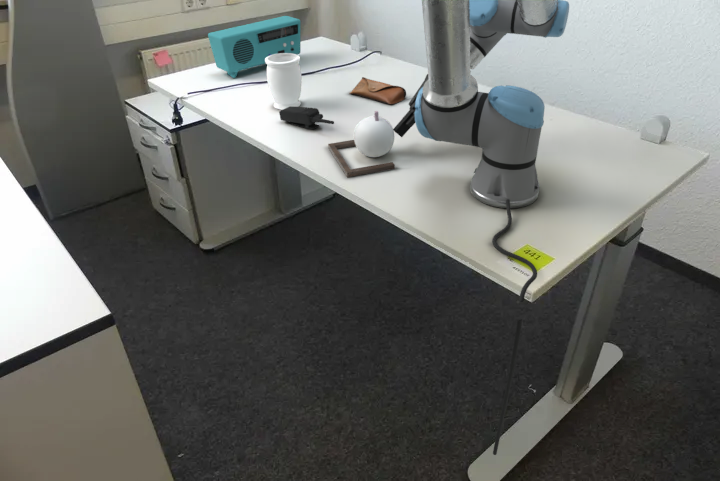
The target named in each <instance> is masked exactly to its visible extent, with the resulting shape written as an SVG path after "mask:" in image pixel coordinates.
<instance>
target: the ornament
mask: <svg viewBox="0 0 720 481" xmlns="http://www.w3.org/2000/svg"><path fill="white" fill-rule="evenodd" d="M393 129H394V127H393V125H392V124H391V123H390V121H388V119H386V118H385V117H383V116H379V110H374V115H369V116H367V117H364V118H363V119H360V121H358V123H357V124H356V126H355V127H354V131H353V140H354V142H355V145H356V146H355V147H356V149H357V151H358V152H360V153H361V154H362V155H364V156H366V157H369V158H379V157H382V156H384V155H386V154H387V153H388V152H389V151H391V149H392V147H393V146H394V142H395V131H394V130H393Z"/></svg>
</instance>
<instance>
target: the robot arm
mask: <svg viewBox="0 0 720 481" xmlns="http://www.w3.org/2000/svg"><path fill="white" fill-rule="evenodd" d="M421 6H422V20H423V30H424V41H425V42H424V43H425V53H426V65H427V66H426V67H427V74H426V75H425V78H424V80H423V81H422V83H421V85H420V87H418V89H416V90H417V91H416V92H415V93H414V95H413V96H412V97H411V99H410V101H409V102H408V106H409V109H408V111H407V112H406V114H404V116H403V117H402V118H401V120H399V122H398V123H397V124H396V125H395V126H394V127H393V130H394V133H396V134H397V135H398V136H399V137H400V138H403V137H404V136H405V135H406V134H407V132H408V131H409V130H410V129H411V128H412V127H413V126H414V125H415V126H416V129H417V131H418V133H419V134H420V135H421V136H422V137H423V138H426V139H429V140H433V141H435V142H444V143H451V144H458V145H462V146H470V147H476V148H481V149H482V152H481V153H482V154H481V159H480V161H479V163H478V165H477V167H476V168H475V169H474V171H473V176H472V178H471V180H470V186H469V190H470V194H471V196H473V198H475V199H476V200H477V201H478V202H481V203H482V204H485V205H487V206H491V207H493V208H494V207H495V208H499V209H500V208H501V209H506V214H507V224H506V225H505V227H504V228H502V229H501V230H499V231H498V232H497V233H495V234H494V235H493V237H492V242H491V243H492V245H493V247H494V248H495V249H496V251H498V252H500V253H501V254H503V255H505V256H508V257H509V258H512V259H515V260H516V261H519V262H521V263H523V264H525V265H526V266H528V267H529V268H530V270H531V272H532V275H531V276H530V278H529V279H527V281H526V282H525V283H524V284H523V286H522V288H521V290H520V293H519V298H518V301H519V302H520V303H523V302H524V301H525V296H526V293H527V290H528V289H529V287H530V286H531V284H533V283H534V281H535V280H536V279H537V277H538V271H537V270H538V269H537V267H536V266H535V265H534V264H533V263H532V262H531V261H530V260H528V259H527V258H525V257H523V256H520V255H518V254H515V253H513V252H511V251H509V250H506V249H504V248H503V247H501V246H500V245H499V244H498V242H497V239H498V238H500V237H501V236H502V235H504V234H505V233H506V232H507V231H508V230H510V228H511V226H512V223H513V217H512V211H511V210H512V209H519V208H524V207H527V206H530V205H531V204H533V203H534V202H536V200H537V199H538V197H539V192H540V182H539V177H538V172H537V165H536V161H537V157H538V152H539V145H540V139H541V134H542V133H541V132H542V127H543V126H544V122H545V120H544V119H545V118H544V116H545V108H546V107H545V102H544V101H543V99H542V98H541V96H539V95H538V94H536V93H535V92H533V91H532V90H530V89H527V88H524V87H521V86H516V85H497V86H494V87H492V88H491V89H490V90H489V91H488V92H483V91H479V85H478V81H477V79H476V78H475V77H474V76H473V75H472V74H471V72H472V71H471V70H475V69H476V68H477V67H478V65H479V64H480V63H481V62H482V61H483V60H484V58H486V56H488V55H489V53H490V52H492V50H493V49H494V48H495V47H496V45H498V43H499V42H500V41H501V40H502V39H503V38H504V37H505V36H506V35H508V34H511V35H523V36H533V37H542V38H560V37H561V36H563V35H564V33H565V31H566V27H567V23H568V20H569V19H568V18H569V13H570V3H569V2H568V1H567V0H421ZM522 324H523V318H522V319H517V321H516V329H515V335H514V342H513V347H512V354H511V359H510V364H509V370H508V376H507V379H506V380H507V381H506V385H505V390H504V396H503V401H502V405H501V409H500V410H501V411H500V416H499V421H498V425H497V431H496V434H495V439H494V445H493V450H492V454H493V455H494V456H497V454H498V448H499V444H500V439H501V434H502V430H503V424H504V421H505V420H504V419H505V416H506V415H505V414H506V410H507V406H508V401H509V397H510V391H511V387H512V382H513V376H514V372H515V366H516V362H517V357H518V352H519V350H518V349H519V345H520V337H521V332H522V326H523V325H522Z"/></svg>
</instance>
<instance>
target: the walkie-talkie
mask: <svg viewBox="0 0 720 481" xmlns="http://www.w3.org/2000/svg"><path fill="white" fill-rule="evenodd" d="M278 115H279V118H280V121H282V122H283V121H284V122H289V125H293V126H296V127H300V128H304V129H307V130H314V129H318V128H319V127H320V125H319V124H317V123H322V124H328V125H330V124H331V125H334V124H335V121H334V120H330V119H325V118H324V115H323V113H320V110H319V109H318V108H317V107H307V106H299V107H291V106H290V107H287V108H285V109H283V110H279V114H278Z"/></svg>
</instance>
